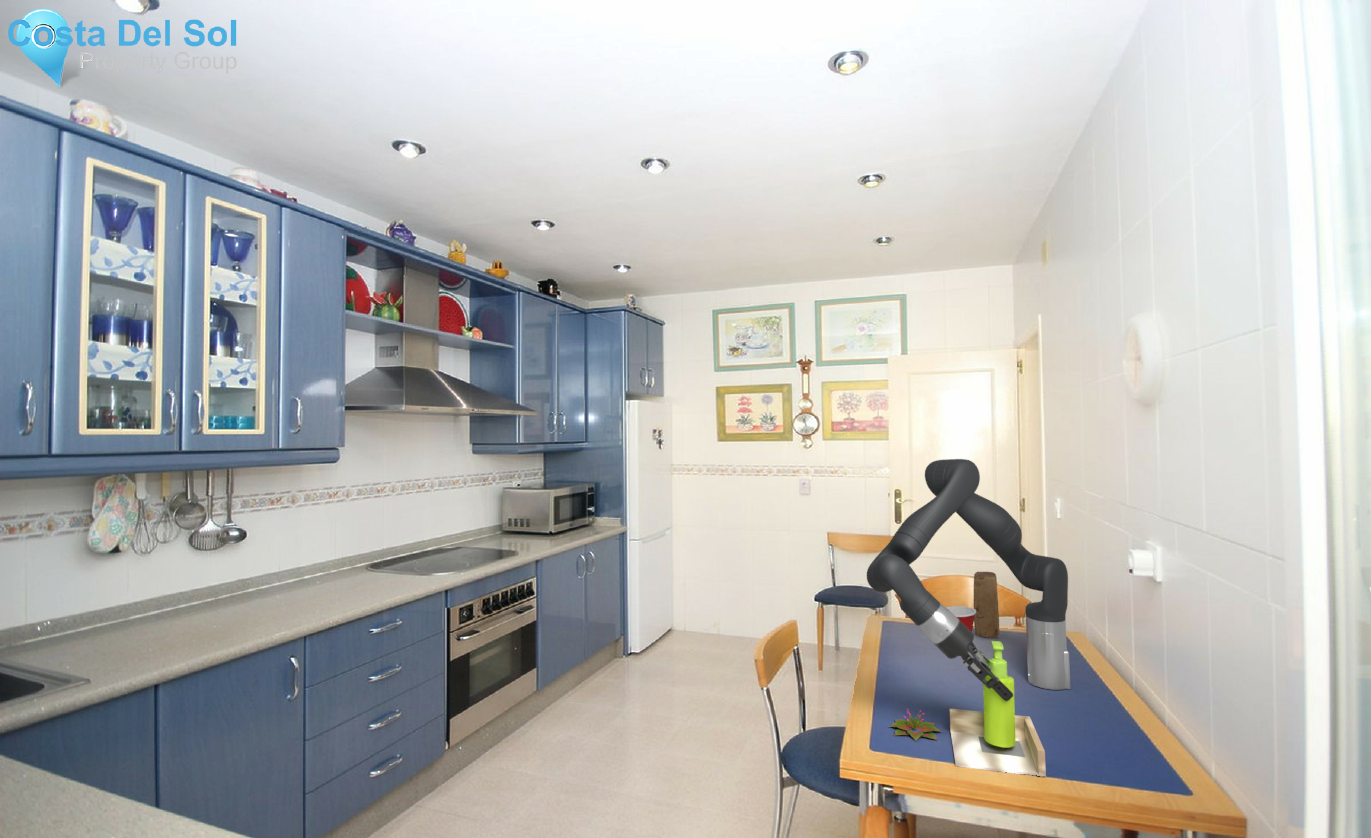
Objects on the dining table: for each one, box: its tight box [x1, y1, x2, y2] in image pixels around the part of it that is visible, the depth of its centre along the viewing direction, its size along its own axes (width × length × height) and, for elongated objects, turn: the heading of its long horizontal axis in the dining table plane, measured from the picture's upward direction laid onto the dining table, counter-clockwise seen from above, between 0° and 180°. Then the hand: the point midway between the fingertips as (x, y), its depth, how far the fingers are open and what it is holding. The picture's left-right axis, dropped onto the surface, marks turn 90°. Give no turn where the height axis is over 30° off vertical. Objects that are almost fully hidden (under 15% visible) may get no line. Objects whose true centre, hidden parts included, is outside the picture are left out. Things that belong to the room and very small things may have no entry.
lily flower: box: [887, 708, 943, 742], centre depth 145 cm, size 12×12×5 cm
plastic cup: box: [945, 605, 976, 633], centre depth 200 cm, size 11×11×12 cm
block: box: [973, 571, 1000, 639], centre depth 213 cm, size 11×8×20 cm
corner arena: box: [949, 708, 1047, 778], centre depth 134 cm, size 16×16×5 cm
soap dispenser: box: [982, 640, 1016, 747], centre depth 137 cm, size 6×7×20 cm
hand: (1007, 691), depth 136 cm, fingers closed on soap dispenser, 6 cm apart
